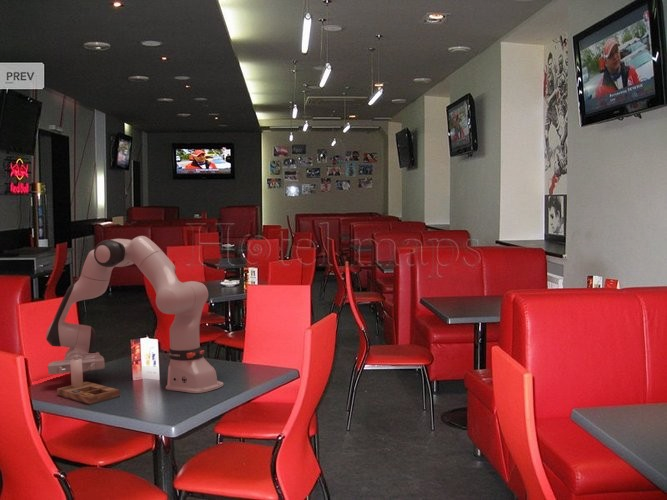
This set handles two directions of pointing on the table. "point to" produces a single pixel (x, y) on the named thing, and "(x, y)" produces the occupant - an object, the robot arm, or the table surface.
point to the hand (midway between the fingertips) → (76, 369)
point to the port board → (88, 393)
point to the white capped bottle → (76, 372)
